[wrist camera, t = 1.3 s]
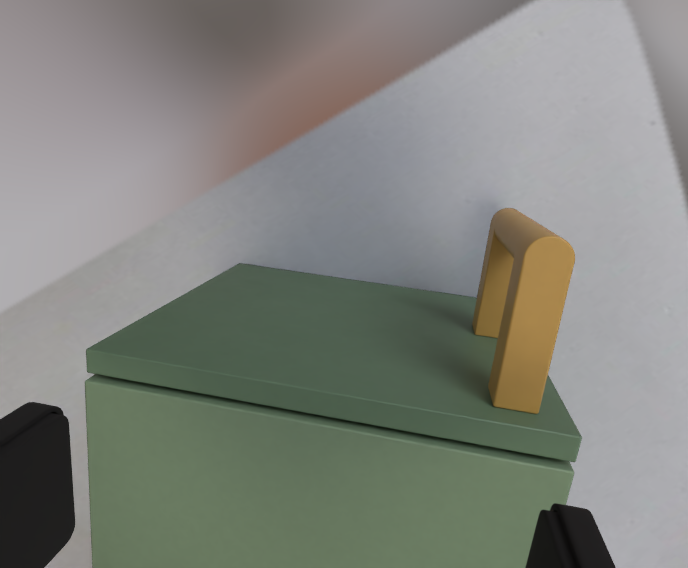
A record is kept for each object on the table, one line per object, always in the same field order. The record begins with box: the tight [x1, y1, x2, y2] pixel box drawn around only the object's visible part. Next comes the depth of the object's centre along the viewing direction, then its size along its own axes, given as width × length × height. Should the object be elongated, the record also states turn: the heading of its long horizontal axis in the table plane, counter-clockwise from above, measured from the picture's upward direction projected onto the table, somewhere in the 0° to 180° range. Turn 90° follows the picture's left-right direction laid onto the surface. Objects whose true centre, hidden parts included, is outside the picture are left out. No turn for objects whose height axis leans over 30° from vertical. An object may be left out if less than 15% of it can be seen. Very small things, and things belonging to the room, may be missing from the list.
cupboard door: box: [86, 208, 582, 462], centre depth 24 cm, size 7×18×16 cm, turn 84°
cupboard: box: [85, 374, 574, 568], centre depth 27 cm, size 12×18×16 cm, turn 84°
